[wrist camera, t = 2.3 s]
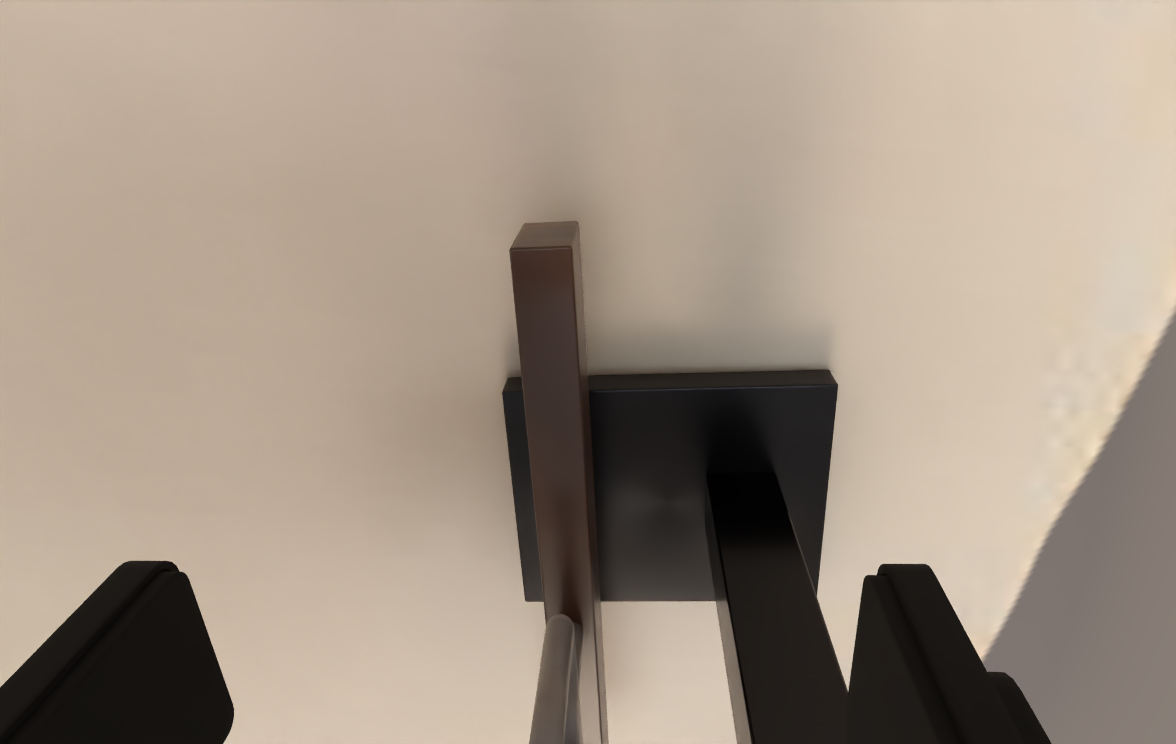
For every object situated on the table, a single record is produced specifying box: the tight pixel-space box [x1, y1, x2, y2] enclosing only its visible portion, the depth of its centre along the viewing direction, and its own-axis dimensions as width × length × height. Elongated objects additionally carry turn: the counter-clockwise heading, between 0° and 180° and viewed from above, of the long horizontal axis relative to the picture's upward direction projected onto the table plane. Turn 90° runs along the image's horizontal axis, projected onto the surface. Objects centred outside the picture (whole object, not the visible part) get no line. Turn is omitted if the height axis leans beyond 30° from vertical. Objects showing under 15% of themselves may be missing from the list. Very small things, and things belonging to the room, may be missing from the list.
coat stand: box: [502, 370, 848, 744], centre depth 20 cm, size 15×9×16 cm, turn 93°
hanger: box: [509, 221, 609, 744], centre depth 18 cm, size 1×22×9 cm, turn 3°
